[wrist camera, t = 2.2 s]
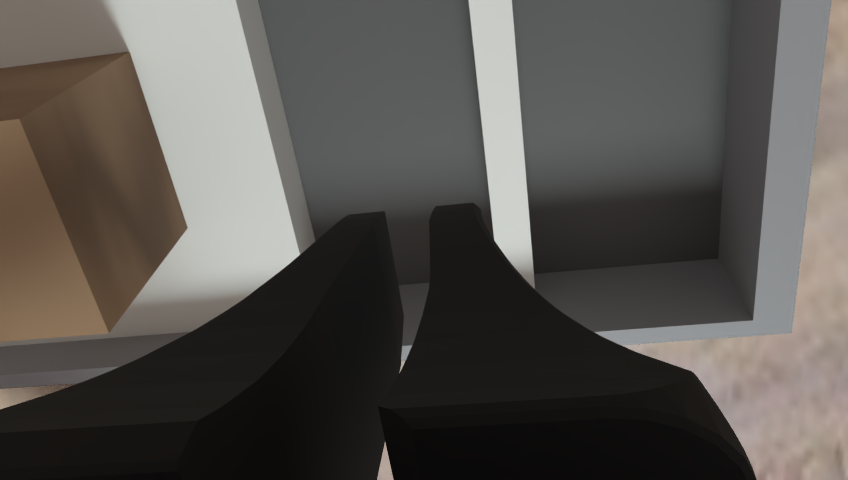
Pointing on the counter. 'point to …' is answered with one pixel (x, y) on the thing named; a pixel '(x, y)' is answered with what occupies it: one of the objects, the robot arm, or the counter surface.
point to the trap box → (464, 150)
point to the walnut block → (79, 197)
